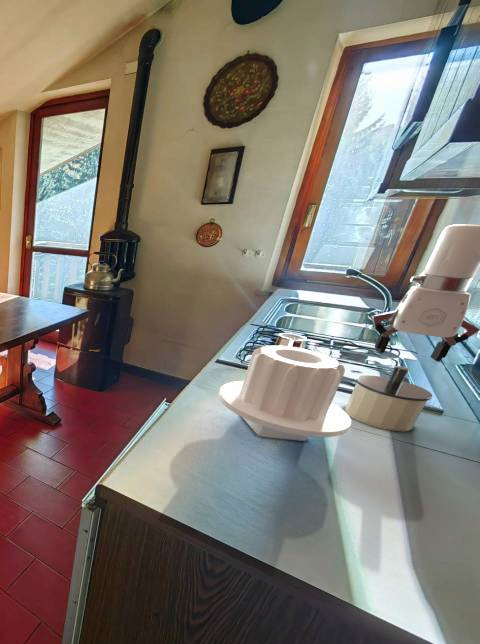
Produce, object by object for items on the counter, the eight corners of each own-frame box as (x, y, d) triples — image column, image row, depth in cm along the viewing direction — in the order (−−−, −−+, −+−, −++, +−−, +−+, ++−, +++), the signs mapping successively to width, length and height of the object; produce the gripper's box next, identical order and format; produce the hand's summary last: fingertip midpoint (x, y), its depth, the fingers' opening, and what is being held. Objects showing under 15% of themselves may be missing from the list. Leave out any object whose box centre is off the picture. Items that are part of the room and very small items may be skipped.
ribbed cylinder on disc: (368, 465, 82) (409, 384, 74) (236, 450, 86) (263, 373, 79) (300, 408, 104) (326, 342, 96) (199, 399, 109) (216, 334, 101)
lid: (417, 386, 99) (428, 364, 96) (440, 408, 88) (454, 384, 86) (348, 375, 105) (358, 354, 102) (363, 394, 94) (374, 371, 92)
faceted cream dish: (401, 414, 102) (416, 384, 98) (421, 436, 92) (438, 405, 88) (339, 402, 107) (352, 374, 104) (352, 422, 98) (366, 392, 94)
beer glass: (289, 390, 114) (307, 342, 108) (260, 383, 118) (276, 336, 112) (291, 383, 119) (309, 336, 113) (264, 376, 123) (279, 331, 117)
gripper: (395, 282, 87) (363, 353, 94) (511, 292, 79) (466, 368, 86) (384, 277, 93) (354, 344, 100) (491, 285, 85) (450, 358, 92)
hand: (406, 355), depth 93 cm, fingers open, 9 cm apart
